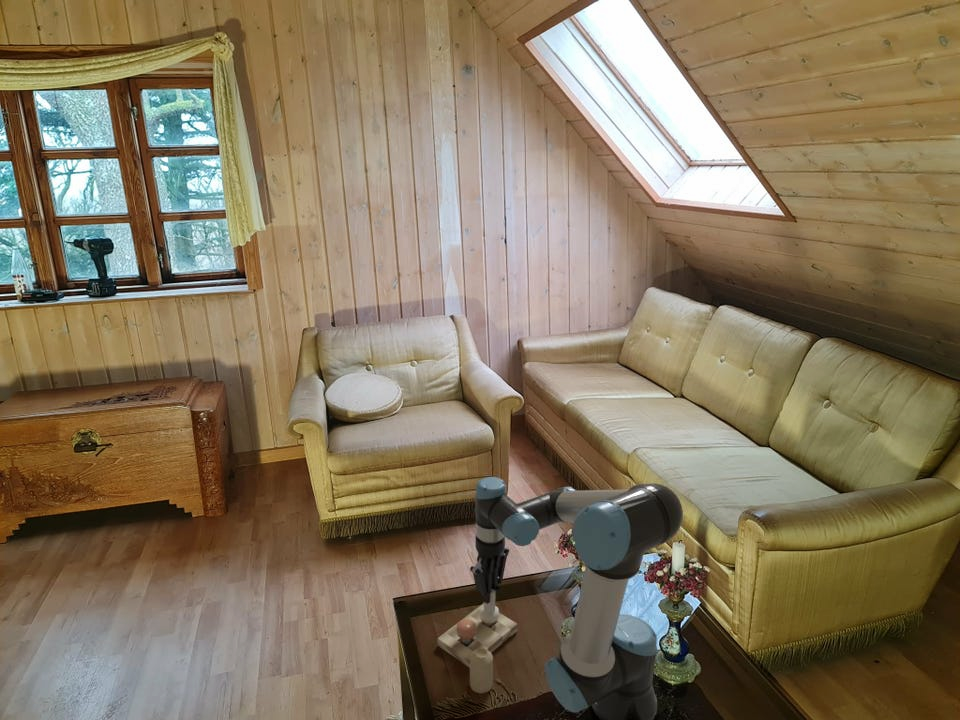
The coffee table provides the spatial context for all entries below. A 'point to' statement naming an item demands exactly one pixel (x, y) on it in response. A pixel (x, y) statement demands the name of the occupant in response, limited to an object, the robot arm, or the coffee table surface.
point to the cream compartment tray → (477, 637)
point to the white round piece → (489, 616)
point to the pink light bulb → (466, 630)
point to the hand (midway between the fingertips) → (489, 609)
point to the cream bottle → (481, 670)
